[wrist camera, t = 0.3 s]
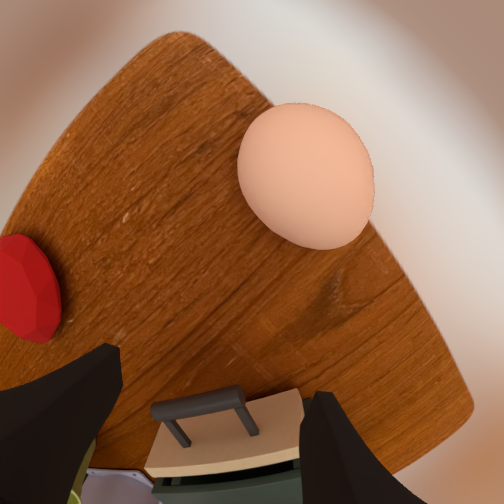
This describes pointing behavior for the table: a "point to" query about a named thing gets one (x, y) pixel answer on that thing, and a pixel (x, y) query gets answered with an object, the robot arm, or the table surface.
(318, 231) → the egg
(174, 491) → the cabinet
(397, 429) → the table surface
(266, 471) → the drawer
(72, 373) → the robot arm
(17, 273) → the gemstone
